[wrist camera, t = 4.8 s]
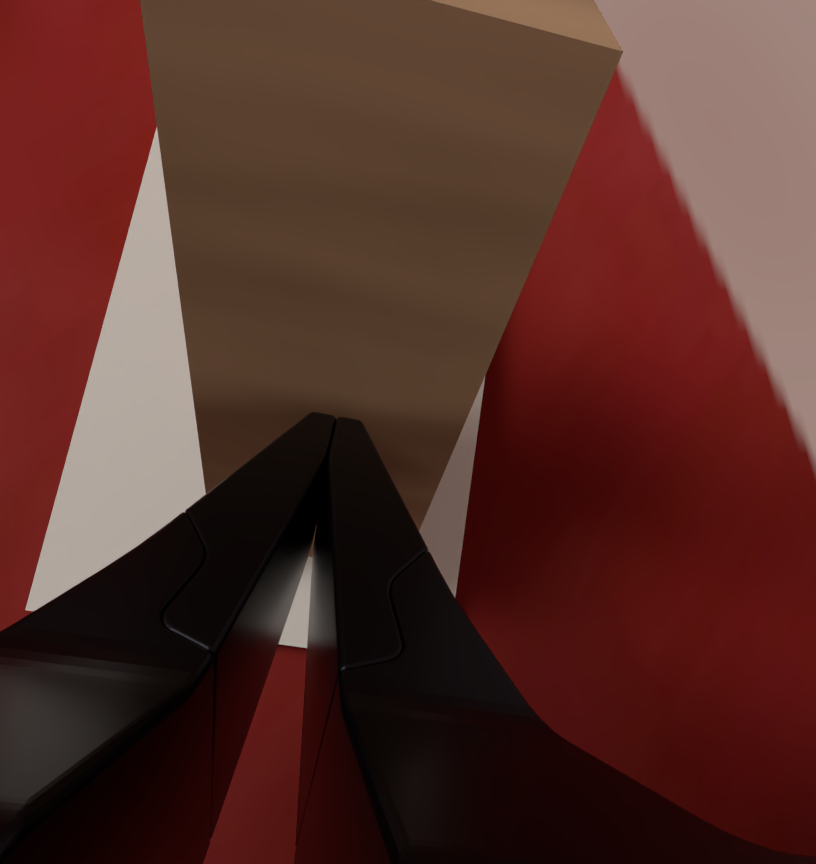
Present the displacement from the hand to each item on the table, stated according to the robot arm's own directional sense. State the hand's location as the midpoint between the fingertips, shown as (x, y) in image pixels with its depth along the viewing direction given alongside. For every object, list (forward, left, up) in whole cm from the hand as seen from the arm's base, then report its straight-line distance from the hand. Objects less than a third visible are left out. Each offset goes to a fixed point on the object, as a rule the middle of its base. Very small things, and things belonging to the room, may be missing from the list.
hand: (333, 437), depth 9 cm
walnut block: (0, 0, -6) cm, 6 cm away
